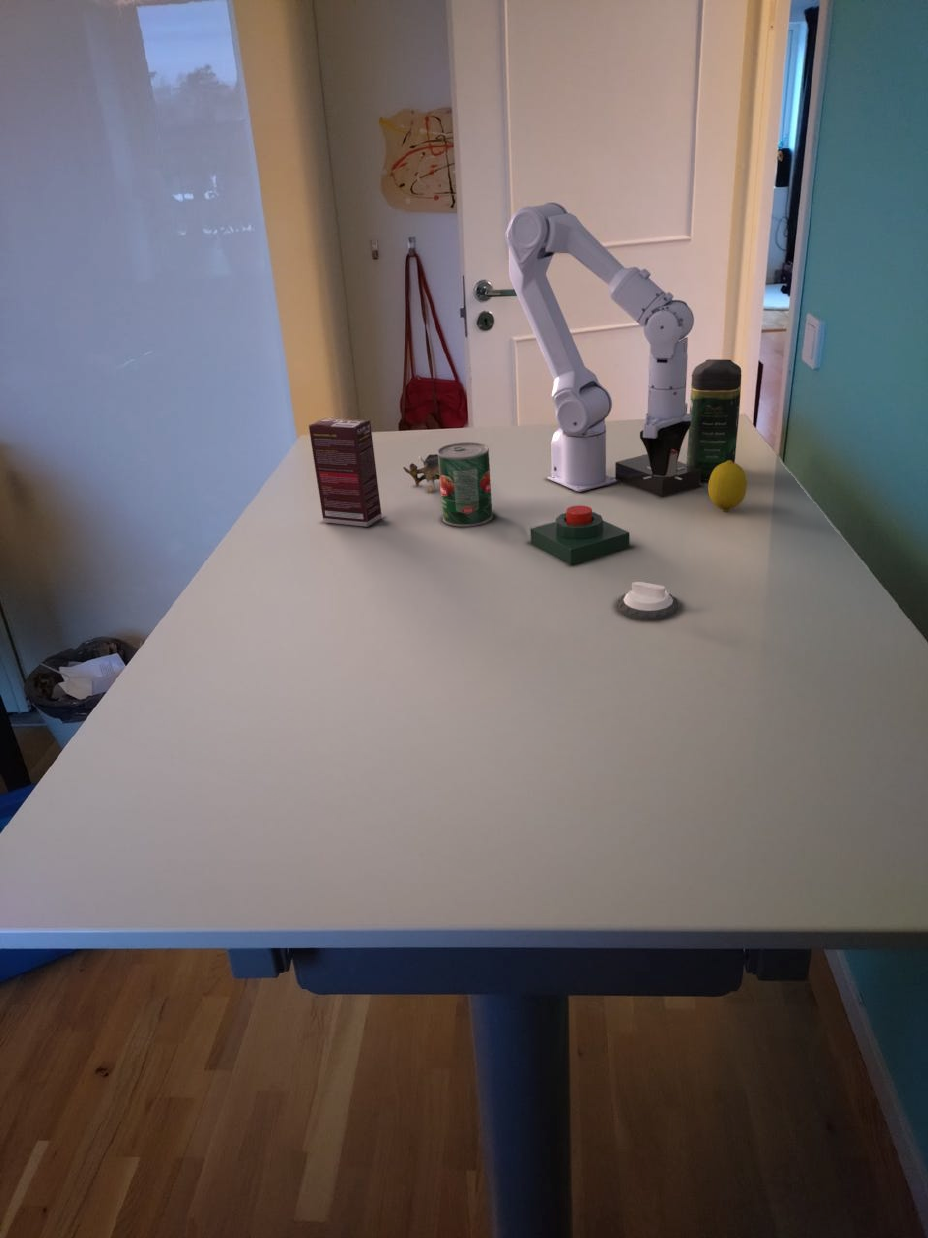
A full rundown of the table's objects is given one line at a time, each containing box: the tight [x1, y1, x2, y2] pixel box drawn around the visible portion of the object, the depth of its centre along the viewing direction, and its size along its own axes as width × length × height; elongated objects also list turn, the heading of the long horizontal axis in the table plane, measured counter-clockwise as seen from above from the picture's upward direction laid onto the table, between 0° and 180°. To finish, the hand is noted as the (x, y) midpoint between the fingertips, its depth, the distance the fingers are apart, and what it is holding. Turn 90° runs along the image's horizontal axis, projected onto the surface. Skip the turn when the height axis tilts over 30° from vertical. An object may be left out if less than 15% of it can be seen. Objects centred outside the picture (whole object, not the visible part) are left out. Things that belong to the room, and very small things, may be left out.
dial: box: [651, 449, 679, 477], centre depth 143 cm, size 4×4×4 cm
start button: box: [565, 504, 593, 525], centre depth 126 cm, size 4×4×2 cm
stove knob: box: [617, 581, 680, 622], centre depth 108 cm, size 7×7×3 cm
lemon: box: [707, 460, 748, 513], centre depth 134 cm, size 6×6×8 cm
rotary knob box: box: [614, 453, 701, 498], centre depth 148 cm, size 14×10×3 cm
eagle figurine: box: [403, 453, 440, 493], centre depth 153 cm, size 8×7×9 cm
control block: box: [530, 511, 630, 566], centre depth 127 cm, size 10×10×4 cm
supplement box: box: [308, 417, 382, 528], centre depth 140 cm, size 9×5×16 cm, turn 65°
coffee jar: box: [686, 358, 742, 481], centre depth 148 cm, size 10×8×19 cm
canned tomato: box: [436, 441, 494, 528], centre depth 138 cm, size 8×8×11 cm
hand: (664, 470), depth 144 cm, fingers closed on dial, 4 cm apart
